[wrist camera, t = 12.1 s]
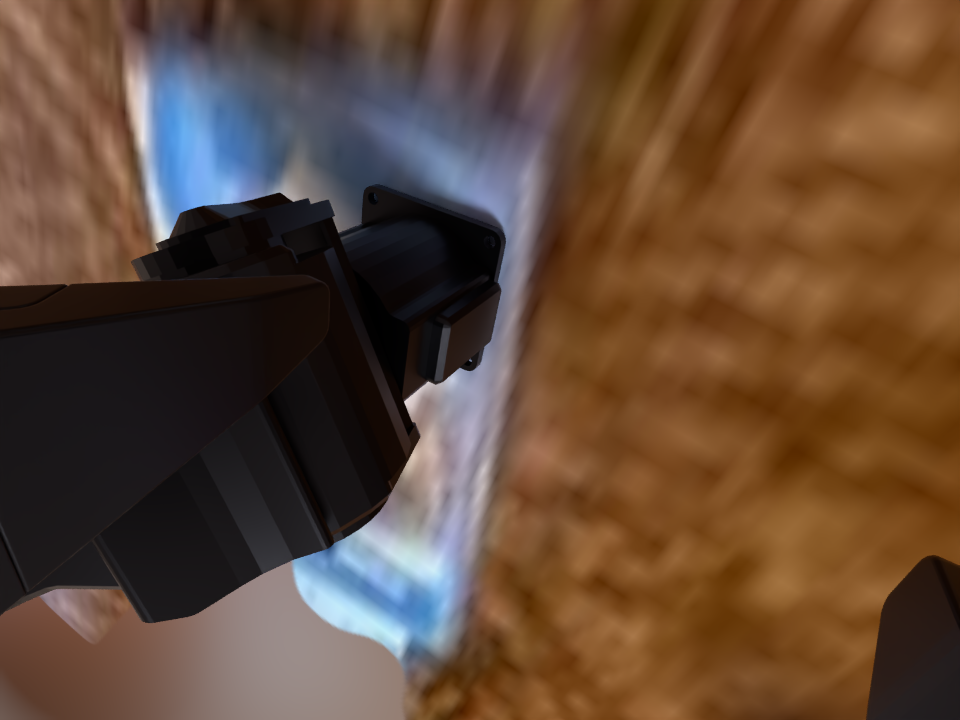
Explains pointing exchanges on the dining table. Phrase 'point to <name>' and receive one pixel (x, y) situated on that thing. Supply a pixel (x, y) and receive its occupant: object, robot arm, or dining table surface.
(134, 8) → the dining table surface
